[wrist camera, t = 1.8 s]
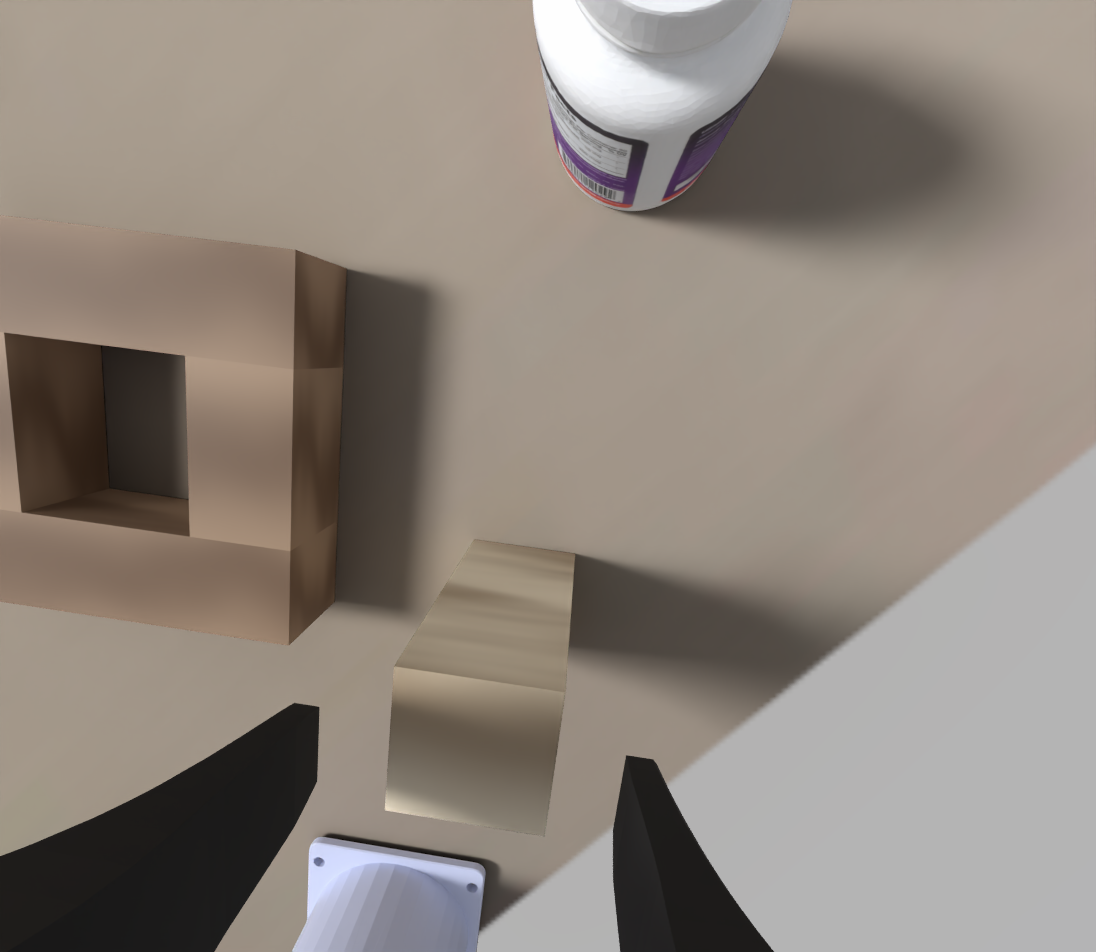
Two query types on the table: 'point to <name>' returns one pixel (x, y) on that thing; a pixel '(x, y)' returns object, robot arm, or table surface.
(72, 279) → the socket block
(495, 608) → the peg
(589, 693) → the table surface
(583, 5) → the pill bottle
